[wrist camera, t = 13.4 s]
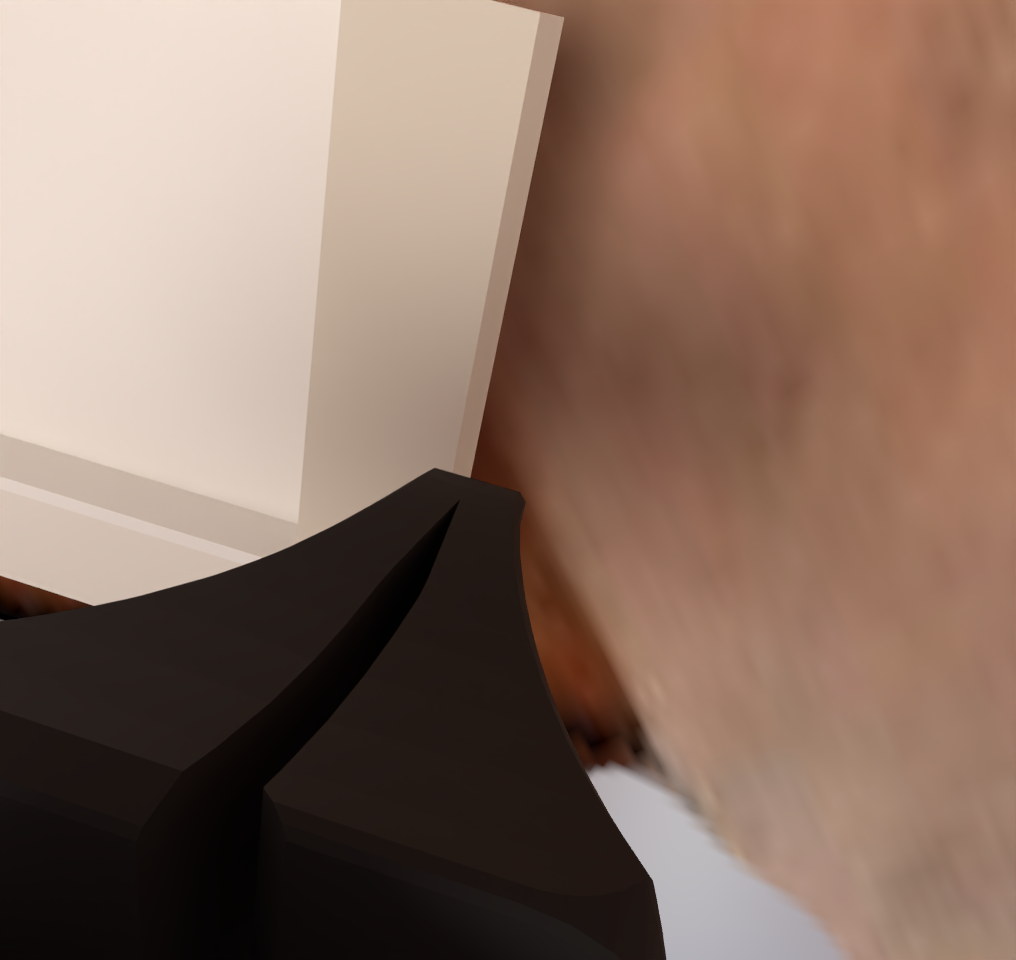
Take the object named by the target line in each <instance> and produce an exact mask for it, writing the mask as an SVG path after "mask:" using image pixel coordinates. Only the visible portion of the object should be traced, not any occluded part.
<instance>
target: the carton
mask: <svg viewBox="0 0 1016 960" xmlns="http://www.w3.org/2000/svg"><path fill="white" fill-rule="evenodd" d="M340 9H341V0H0V576H3V577H6V578H10V579H13V580H16V581H19V582H22V583H25V584H28V585H31V586H34V587H38V588H41V589H44V590H47V591H50V592H53V593H56V594H59V595H62V596H66V597H69V598H72V599H75V600H78V601H81V602H84V603H87V604H90V605H94V606H96V605H100V604H105V603H110V602H114V601H119V600H124V599H128V598H133V597H137V596H141V595H145V594H148V593H152V592H155V591H159V590H163V589H166V588H170V587H174V586H177V585H181V584H184V583H188V582H192V581H195V580H199V579H203V578H206V577H210V576H213V575H216V574H219V573H222V572H225V571H228V570H230V569H233V568H236V567H239V566H242V565H244V564H247V563H250V562H253V561H256V560H258V559H261V558H263V557H266V556H268V555H271V554H273V553H276V552H278V551H281V550H283V549H285V548H288V547H290V546H292V545H294V544H296V542H297V530H298V517H299V505H300V493H301V481H302V469H303V457H304V445H305V433H306V421H307V409H308V396H309V384H310V372H311V360H312V348H313V336H314V324H315V312H316V300H317V288H318V275H319V263H320V251H321V239H322V227H323V215H324V203H325V191H326V179H327V167H328V155H329V142H330V130H331V118H332V106H333V94H334V82H335V70H336V58H337V46H338V34H339V21H340Z"/></svg>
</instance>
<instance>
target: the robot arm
mask: <svg viewBox="0 0 1016 960" xmlns="http://www.w3.org/2000/svg"><path fill="white" fill-rule="evenodd" d="M525 503H526V502H525V500H524V498H523V497H522V495H521V493H520V492H517V491H513V490H510V489H507V488H503V487H500V486H496V485H493V484H489V483H486V482H482V481H479V480H476V479H472V478H469V477H465V476H462V475H458V474H455V473H451V472H448V471H444V470H441V469H438V468H433V469H431V470H429V471H427V472H426V473H424V474H422V475H420V476H419V477H417V478H415V479H414V480H412V481H410V482H409V483H407V484H405V485H404V486H402V487H400V488H399V489H397V490H395V491H394V492H392V493H390V494H389V495H387V496H385V497H384V498H382V499H380V500H379V501H377V502H375V503H373V504H372V505H370V506H368V507H366V508H364V509H363V510H361V511H359V512H357V513H355V514H354V515H352V516H350V517H348V518H346V519H345V520H343V521H341V522H339V523H337V524H335V525H333V526H332V527H330V528H328V529H325V530H323V531H321V532H319V533H317V534H315V535H313V536H311V537H309V538H307V539H305V540H303V541H301V542H298V543H296V544H294V545H292V546H290V547H288V548H285V549H283V550H281V551H278V552H276V553H273V554H271V555H268V556H266V557H263V558H261V559H258V560H256V561H253V562H250V563H247V564H244V565H242V566H239V567H236V568H233V569H230V570H228V571H225V572H222V573H219V574H216V575H213V576H210V577H206V578H203V579H199V580H195V581H192V582H188V583H184V584H181V585H177V586H174V587H170V588H166V589H163V590H159V591H155V592H152V593H148V594H145V595H141V596H137V597H133V598H128V599H124V600H119V601H114V602H110V603H105V604H100V605H96V606H91V607H85V608H80V609H74V610H69V611H63V612H58V613H52V614H46V615H40V616H33V617H27V618H20V619H12V620H1V619H0V960H666V954H665V947H664V940H663V932H662V927H661V921H660V915H659V909H658V904H657V899H656V894H655V889H654V884H653V880H652V879H651V877H650V876H649V874H648V873H647V871H646V870H645V868H644V867H643V865H642V864H641V862H640V861H639V860H638V858H637V856H636V855H635V853H634V852H633V850H632V849H631V847H630V846H629V844H628V843H627V841H626V840H625V838H624V837H623V835H622V834H621V832H620V831H619V829H618V827H617V826H616V824H615V823H614V821H613V819H612V818H611V816H610V814H609V813H608V811H607V809H606V807H605V806H604V804H603V802H602V800H601V798H600V797H599V795H598V793H597V791H596V789H595V788H594V786H593V784H592V782H591V780H590V778H589V777H588V775H587V773H586V771H585V769H584V767H583V765H582V762H581V760H580V758H579V756H578V754H577V752H576V750H575V747H574V745H573V743H572V741H571V739H570V737H569V734H568V732H567V730H566V728H565V726H564V724H563V722H562V719H561V717H560V715H559V713H558V710H557V707H556V705H555V702H554V699H553V697H552V694H551V691H550V689H549V686H548V683H547V680H546V677H545V674H544V671H543V668H542V665H541V662H540V658H539V655H538V652H537V648H536V644H535V641H534V637H533V633H532V628H531V624H530V619H529V614H528V609H527V605H526V599H525V593H524V586H523V577H522V569H521V560H520V523H521V519H522V515H523V511H524V507H525Z"/></svg>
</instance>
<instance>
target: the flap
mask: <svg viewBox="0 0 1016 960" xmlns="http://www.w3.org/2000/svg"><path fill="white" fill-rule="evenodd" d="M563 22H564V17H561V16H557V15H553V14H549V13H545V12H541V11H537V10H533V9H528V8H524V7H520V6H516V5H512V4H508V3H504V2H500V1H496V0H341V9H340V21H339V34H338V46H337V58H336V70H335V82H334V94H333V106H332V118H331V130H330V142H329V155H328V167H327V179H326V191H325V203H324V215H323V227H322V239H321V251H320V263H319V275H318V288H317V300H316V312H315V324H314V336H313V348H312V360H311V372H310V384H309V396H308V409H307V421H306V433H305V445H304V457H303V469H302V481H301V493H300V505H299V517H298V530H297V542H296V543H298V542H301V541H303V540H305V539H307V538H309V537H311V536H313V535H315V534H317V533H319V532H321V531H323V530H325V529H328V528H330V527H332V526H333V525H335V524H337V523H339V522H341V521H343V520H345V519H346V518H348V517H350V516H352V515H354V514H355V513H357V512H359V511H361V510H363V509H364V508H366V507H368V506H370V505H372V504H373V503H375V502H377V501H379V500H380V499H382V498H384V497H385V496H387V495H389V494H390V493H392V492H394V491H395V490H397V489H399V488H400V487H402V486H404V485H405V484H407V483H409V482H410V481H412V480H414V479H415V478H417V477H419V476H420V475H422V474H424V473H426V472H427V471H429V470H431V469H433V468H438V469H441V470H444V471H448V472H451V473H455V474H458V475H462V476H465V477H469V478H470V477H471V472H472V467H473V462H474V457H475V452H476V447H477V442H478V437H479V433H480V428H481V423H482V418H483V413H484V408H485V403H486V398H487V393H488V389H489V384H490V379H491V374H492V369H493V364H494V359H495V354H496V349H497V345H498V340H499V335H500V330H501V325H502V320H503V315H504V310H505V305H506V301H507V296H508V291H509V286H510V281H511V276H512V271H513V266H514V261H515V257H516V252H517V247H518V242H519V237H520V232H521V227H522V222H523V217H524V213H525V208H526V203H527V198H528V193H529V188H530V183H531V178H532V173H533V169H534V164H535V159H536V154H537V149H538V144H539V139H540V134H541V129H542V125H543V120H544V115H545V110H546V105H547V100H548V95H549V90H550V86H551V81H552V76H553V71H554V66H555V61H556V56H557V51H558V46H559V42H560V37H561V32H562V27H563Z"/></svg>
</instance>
